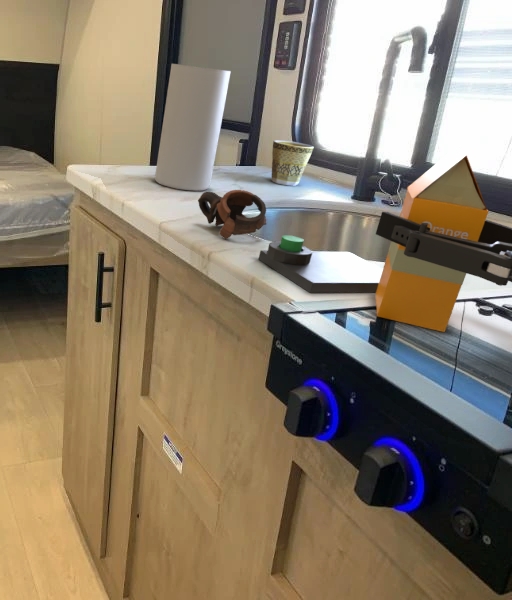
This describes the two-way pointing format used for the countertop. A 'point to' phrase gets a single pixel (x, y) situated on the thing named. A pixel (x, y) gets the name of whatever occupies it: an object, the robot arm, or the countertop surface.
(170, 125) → the cylinder vase
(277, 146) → the ceramic cup
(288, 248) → the button
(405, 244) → the robot arm
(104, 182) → the countertop surface
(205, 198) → the broken mug
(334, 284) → the scale
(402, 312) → the orange juice
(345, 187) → the countertop surface
